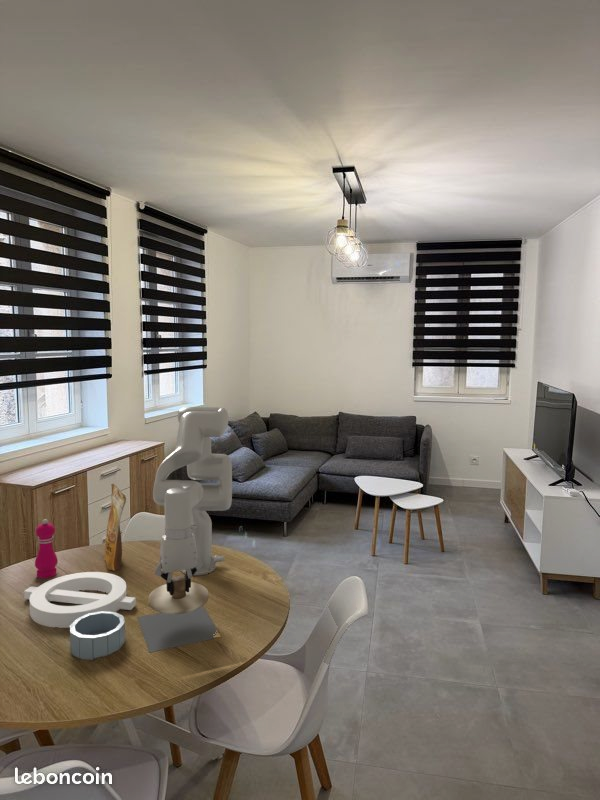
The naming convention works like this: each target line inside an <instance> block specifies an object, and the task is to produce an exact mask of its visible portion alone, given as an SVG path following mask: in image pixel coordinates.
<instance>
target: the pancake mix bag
mask: <svg viewBox="0 0 600 800" xmlns="http://www.w3.org/2000/svg"><path fill="white" fill-rule="evenodd" d="M110 485H111V499H110V509H109V515H108V519H107V526H106V533H105V543H104V552H103V553H104V559H105V562H106V567H107V570H109V571H113V572H116V571H117V570H119V569H120V568H121V566H122V557H123V543H122V533H121V525H120V522H121V518H122V517H121V516H122V513H123V511H124V507H125V505H126V503H127V496H126V495H125V494H124V493H123V492H122V491H121V490H120V489H119V488H118V486H117V485H116V484H114V483H112V484H110Z"/></svg>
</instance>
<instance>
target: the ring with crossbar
mask: <svg viewBox="0 0 600 800" xmlns="http://www.w3.org/2000/svg"><path fill="white" fill-rule="evenodd" d="M79 590H82V591H79ZM97 590H98V592H103V593H95V592H85V591H97ZM105 592H106V594H104V593H105ZM23 598H24V599H23V600H29V616H30V618H31V619H32V620H33V622H35V623H37V624H38V625H41V626H44V627H50V628H55V627H58V628H57V629H59V628H60V629H61V628H62V629H67V628H69V629H70V625H71V624H72V623H73V622H74V621H75V620H76V619H77V618H79V617H82V616H84V615H86V614H89V613H94V612H99V611H109V612H116V613H118V611H119V610H126V611H127V610H128V611H132V610H133V609H134V607H135V606H136V603H137V598H136V597H133V596H127V582H126V581H125V579H123V578H122V577H121V576H118V575H116V574H114V573H109V572H102V571H84V572H76V573H70V574H66V575H61V576H59V577H55V578H53V579H50V580H48V581H45V582H44V583H42V584H40V585H39V586H29V587H28V588H26V589H25V590H24V591H23ZM51 602H57V603H58V602H59V603H65V604H66V603H68V604H75V605H58V604H54V603H51Z"/></svg>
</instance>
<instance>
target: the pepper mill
mask: <svg viewBox="0 0 600 800" xmlns="http://www.w3.org/2000/svg"><path fill="white" fill-rule="evenodd" d="M55 532H56V529H55V525H53V524H52V523H49V520H48V519H47V518H44V519H43V520H42V523H41V524H39V525H38V526H37V527H36V529H35V534H36V536H37V543H38V544H39V549H38V551H37V552H38V553H37V556H36V557H35V561H34V567H35V568H36V569H37V570H36V577H37V578H39V579H49V578H52V577H54V576H56V575H57V568H56V566H57V565H58V556H57V554H56V552H55V551H54V547H53V541H54V540H55V539H54V534H55Z"/></svg>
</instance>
